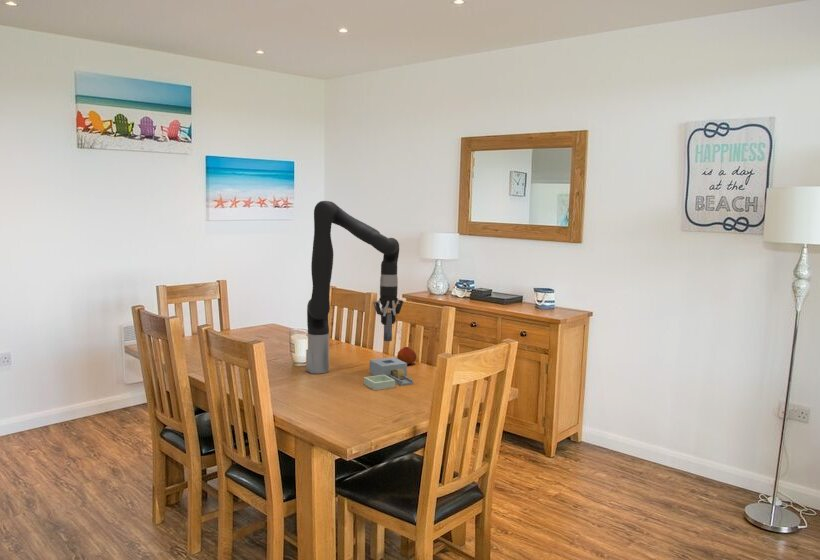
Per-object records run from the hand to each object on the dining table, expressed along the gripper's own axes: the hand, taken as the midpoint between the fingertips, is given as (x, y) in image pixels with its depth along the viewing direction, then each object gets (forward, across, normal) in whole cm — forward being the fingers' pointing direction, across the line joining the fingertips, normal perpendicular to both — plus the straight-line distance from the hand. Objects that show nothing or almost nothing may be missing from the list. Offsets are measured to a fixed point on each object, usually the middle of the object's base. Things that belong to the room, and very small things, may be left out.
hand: (388, 323), depth 279 cm
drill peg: (+7, 0, 0) cm, 7 cm away
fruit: (+23, -18, -14) cm, 33 cm away
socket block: (+23, -1, +4) cm, 24 cm away
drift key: (+22, -1, +6) cm, 23 cm away
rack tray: (+23, +10, +12) cm, 28 cm away
